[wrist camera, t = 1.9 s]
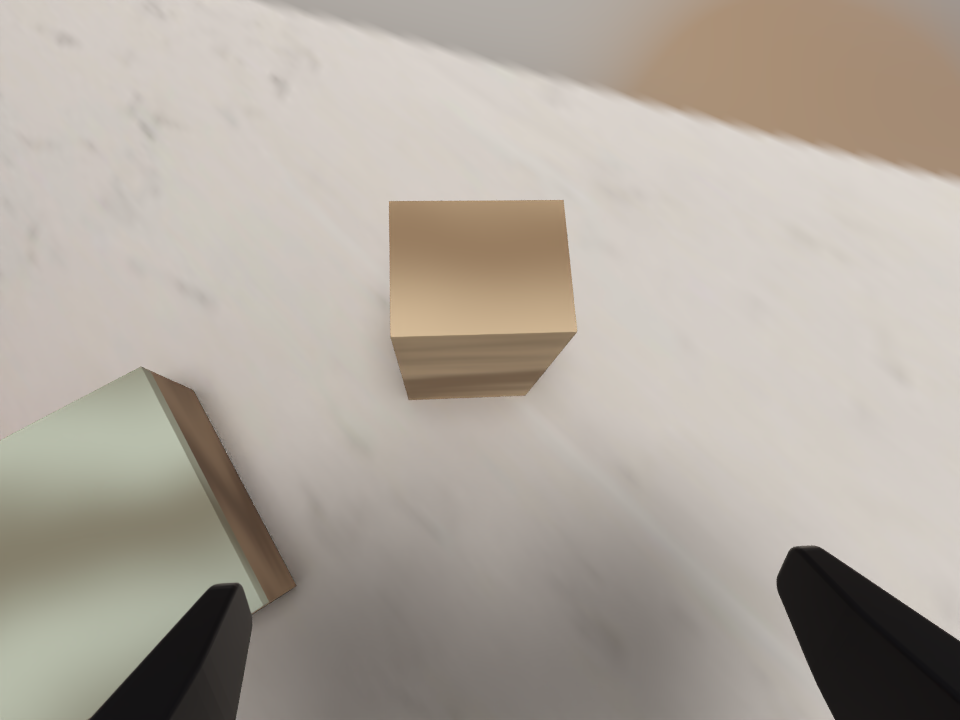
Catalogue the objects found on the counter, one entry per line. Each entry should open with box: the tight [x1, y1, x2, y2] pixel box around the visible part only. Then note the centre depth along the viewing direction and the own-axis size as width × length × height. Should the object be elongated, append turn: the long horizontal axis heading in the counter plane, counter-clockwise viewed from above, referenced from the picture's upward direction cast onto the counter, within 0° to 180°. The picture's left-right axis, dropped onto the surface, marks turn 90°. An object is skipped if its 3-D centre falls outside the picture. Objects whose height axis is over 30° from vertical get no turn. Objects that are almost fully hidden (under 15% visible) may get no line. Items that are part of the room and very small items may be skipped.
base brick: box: [0, 367, 296, 720], centre depth 18 cm, size 9×9×4 cm
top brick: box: [389, 200, 577, 400], centre depth 19 cm, size 4×5×9 cm
